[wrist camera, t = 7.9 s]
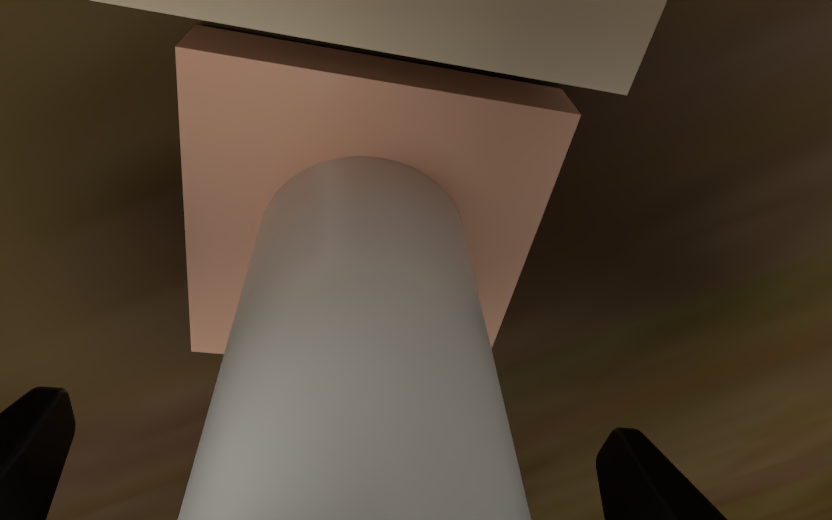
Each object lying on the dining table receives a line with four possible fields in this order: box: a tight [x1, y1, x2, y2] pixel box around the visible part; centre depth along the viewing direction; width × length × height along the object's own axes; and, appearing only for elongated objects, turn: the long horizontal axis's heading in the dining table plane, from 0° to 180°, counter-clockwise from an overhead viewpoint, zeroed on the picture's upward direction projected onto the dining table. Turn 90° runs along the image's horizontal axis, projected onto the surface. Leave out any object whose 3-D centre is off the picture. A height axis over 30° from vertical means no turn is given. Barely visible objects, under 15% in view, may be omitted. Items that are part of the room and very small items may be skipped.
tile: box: [175, 25, 581, 354], centre depth 14 cm, size 8×8×2 cm
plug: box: [178, 156, 531, 520], centre depth 9 cm, size 5×5×10 cm
